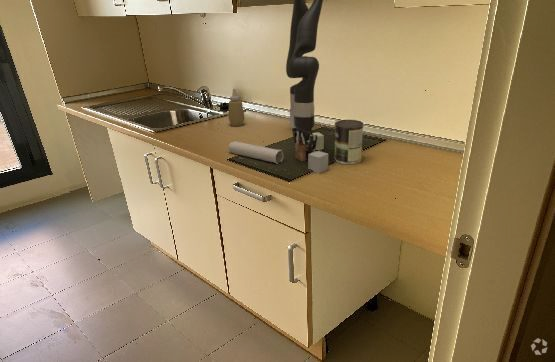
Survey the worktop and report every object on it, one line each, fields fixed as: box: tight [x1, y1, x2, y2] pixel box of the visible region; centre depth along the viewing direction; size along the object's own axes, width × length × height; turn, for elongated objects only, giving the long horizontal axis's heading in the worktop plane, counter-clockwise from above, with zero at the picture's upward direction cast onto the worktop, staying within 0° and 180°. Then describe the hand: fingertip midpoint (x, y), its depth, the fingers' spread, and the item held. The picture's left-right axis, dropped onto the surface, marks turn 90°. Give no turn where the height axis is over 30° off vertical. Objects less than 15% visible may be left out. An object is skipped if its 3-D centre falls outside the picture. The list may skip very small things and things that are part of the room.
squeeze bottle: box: [228, 88, 245, 127], centre depth 190 cm, size 8×8×18 cm
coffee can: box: [333, 119, 364, 165], centre depth 142 cm, size 10×10×14 cm
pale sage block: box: [308, 131, 325, 152], centre depth 156 cm, size 5×5×6 cm
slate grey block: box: [307, 150, 329, 174], centre depth 136 cm, size 5×5×6 cm
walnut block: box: [294, 141, 315, 162], centre depth 146 cm, size 5×5×6 cm
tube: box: [227, 140, 284, 165], centre depth 150 cm, size 5×5×25 cm
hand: (304, 156), depth 147 cm, fingers closed on walnut block, 5 cm apart
